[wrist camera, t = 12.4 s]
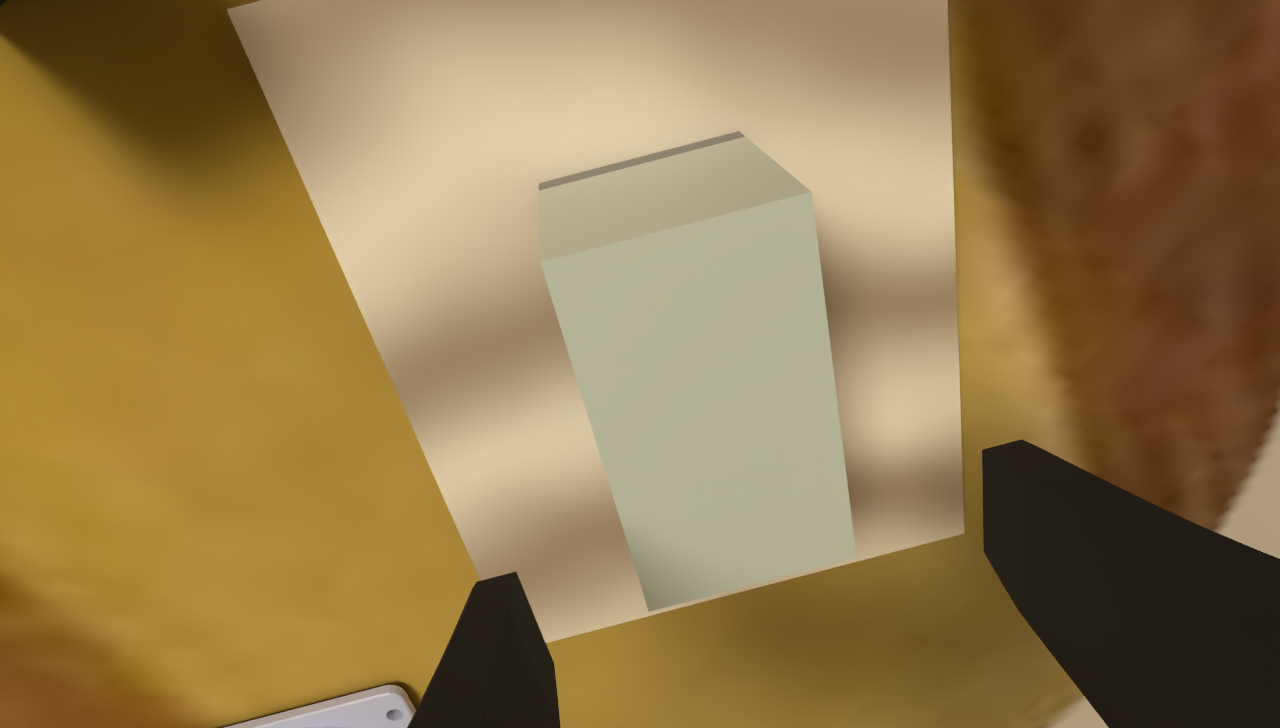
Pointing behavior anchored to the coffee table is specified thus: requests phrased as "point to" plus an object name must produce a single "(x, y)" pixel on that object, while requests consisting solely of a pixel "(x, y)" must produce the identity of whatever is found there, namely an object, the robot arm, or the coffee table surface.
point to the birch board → (592, 138)
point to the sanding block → (703, 362)
